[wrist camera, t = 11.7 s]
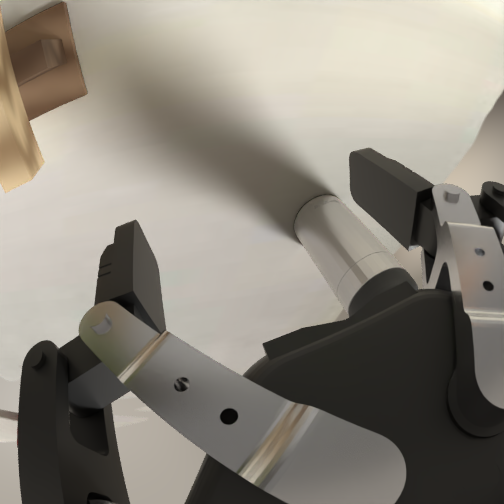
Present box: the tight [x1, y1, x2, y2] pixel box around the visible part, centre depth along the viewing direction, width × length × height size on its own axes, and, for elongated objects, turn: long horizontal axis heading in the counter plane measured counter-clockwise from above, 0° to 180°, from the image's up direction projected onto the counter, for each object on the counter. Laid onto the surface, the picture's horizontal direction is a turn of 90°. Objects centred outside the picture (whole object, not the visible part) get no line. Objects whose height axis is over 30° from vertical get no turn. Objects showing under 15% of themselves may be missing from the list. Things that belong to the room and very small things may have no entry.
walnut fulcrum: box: [5, 2, 88, 121], centre depth 19 cm, size 12×12×8 cm
